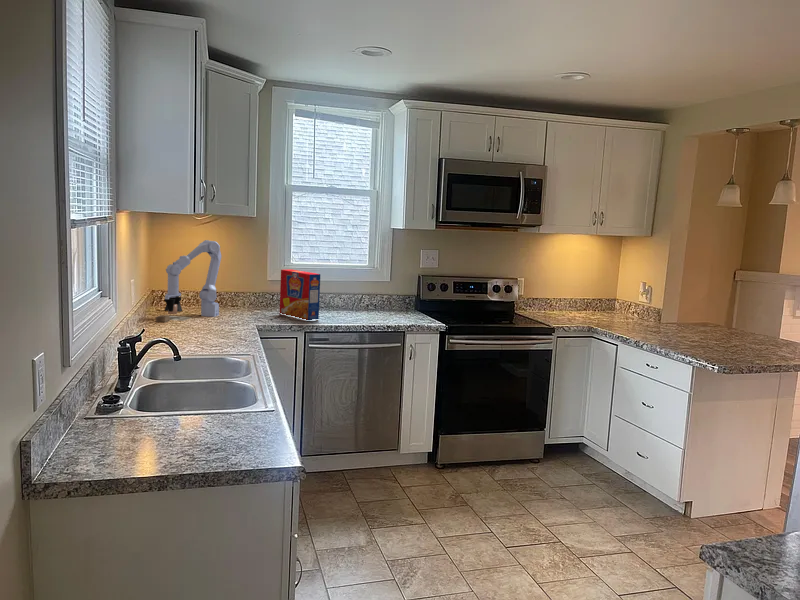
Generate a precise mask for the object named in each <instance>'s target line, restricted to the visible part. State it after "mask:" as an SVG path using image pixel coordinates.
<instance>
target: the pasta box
mask: <svg viewBox="0 0 800 600" xmlns="http://www.w3.org/2000/svg"><path fill="white" fill-rule="evenodd" d="M279 287H280V288H279V291H280V292H279V295H280V296H279V314H280V313H282V314H286V315H291V316H295V317H299V318H302V319H306V320H312V319H319V318H320V299H321V298H320V295H321V294H320V293H321V290H320V289H321V274H320V273H315V272H311V271H310V272H309V271H302V270H297V269H280V286H279Z"/></svg>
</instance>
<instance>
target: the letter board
mask: <svg viewBox="0 0 800 600" xmlns="http://www.w3.org/2000/svg"><path fill="white" fill-rule="evenodd" d="M165 316H170V320H171V321H181V322H182V321H183V322H184V321H187V320H191V319H192V318H193V317H192V316H191V317H190V316H181V315H170V314H168V315H166V314H165Z"/></svg>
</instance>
